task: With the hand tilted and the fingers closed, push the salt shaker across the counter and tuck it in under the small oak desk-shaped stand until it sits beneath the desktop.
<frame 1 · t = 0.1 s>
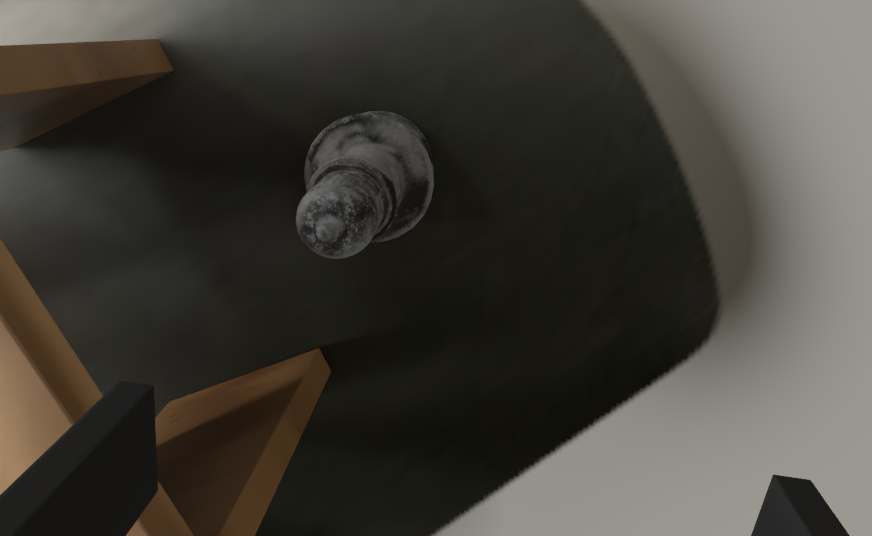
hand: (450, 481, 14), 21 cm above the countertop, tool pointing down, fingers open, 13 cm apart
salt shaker: (381, 163, 33), on the countertop
desk: (171, 251, 36), on the countertop
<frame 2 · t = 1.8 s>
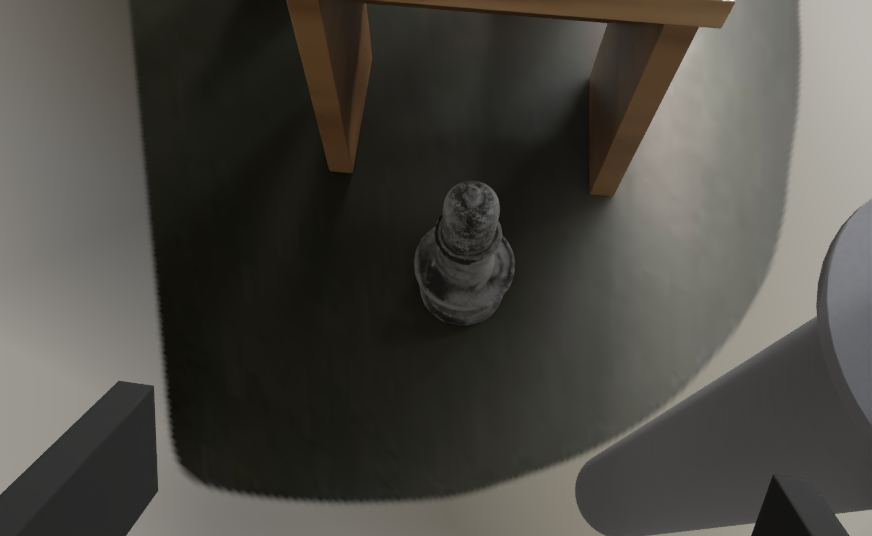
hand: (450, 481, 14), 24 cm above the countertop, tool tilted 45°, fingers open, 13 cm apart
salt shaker: (461, 287, 42), on the countertop
desk: (475, 123, 47), on the countertop
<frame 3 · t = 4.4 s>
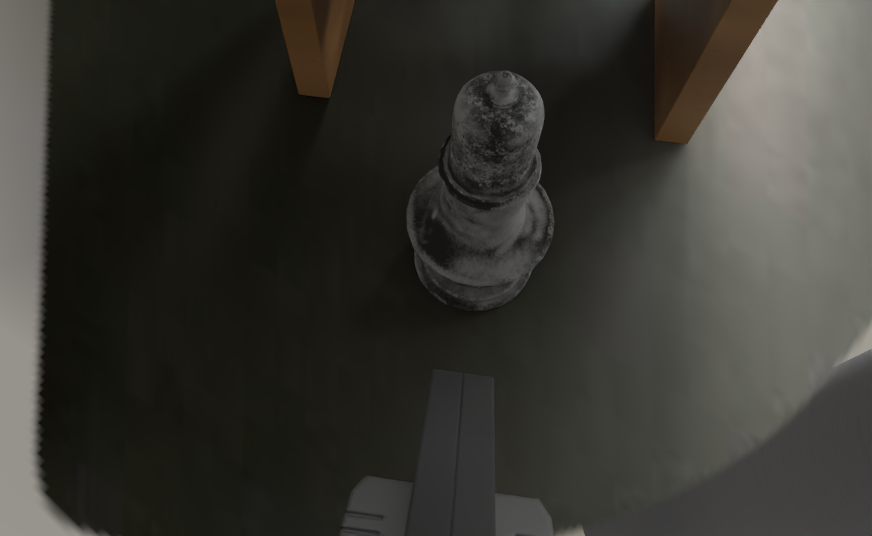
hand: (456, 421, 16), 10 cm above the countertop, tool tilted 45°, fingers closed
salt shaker: (473, 257, 30), on the countertop
desk: (500, 42, 35), on the countertop
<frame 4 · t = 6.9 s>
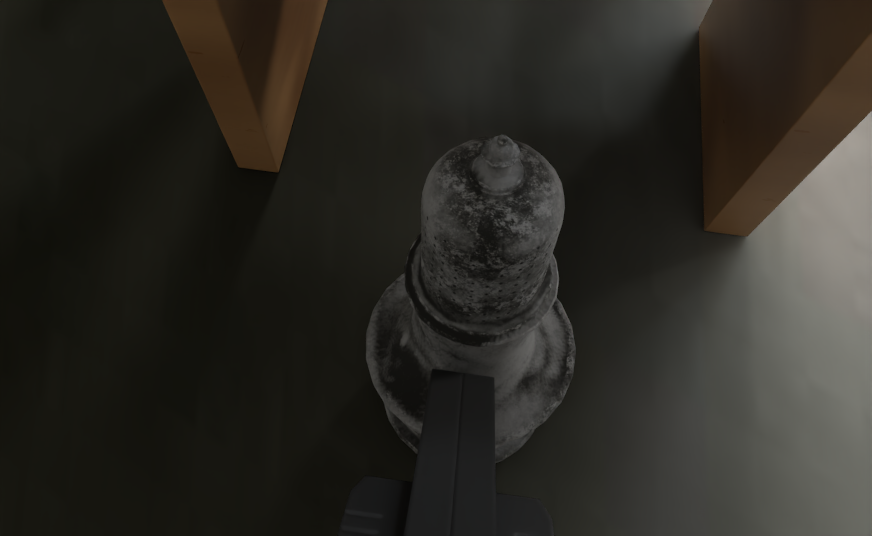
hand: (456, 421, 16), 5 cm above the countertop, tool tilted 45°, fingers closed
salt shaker: (463, 388, 22), on the countertop, touching gripper
desk: (502, 95, 27), on the countertop
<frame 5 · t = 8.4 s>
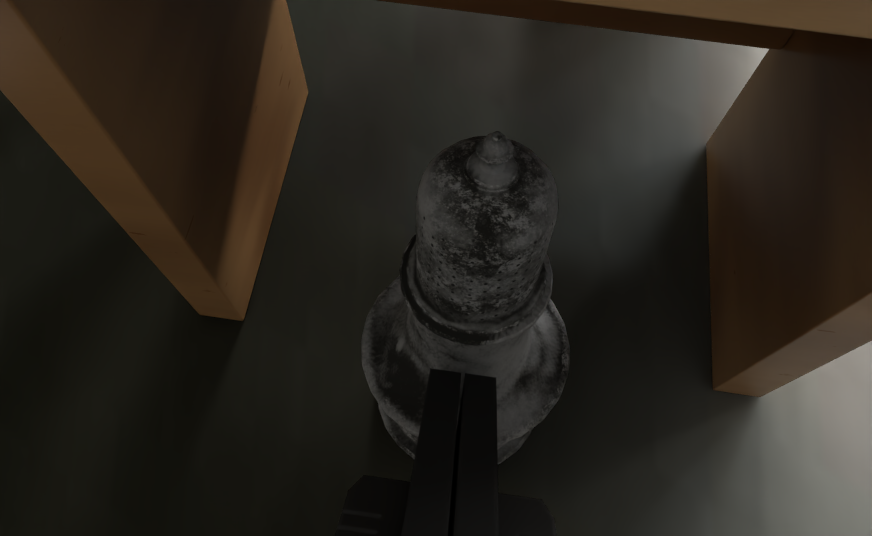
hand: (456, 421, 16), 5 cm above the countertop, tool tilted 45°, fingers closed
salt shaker: (458, 393, 22), on the countertop, touching gripper
desk: (490, 226, 25), on the countertop
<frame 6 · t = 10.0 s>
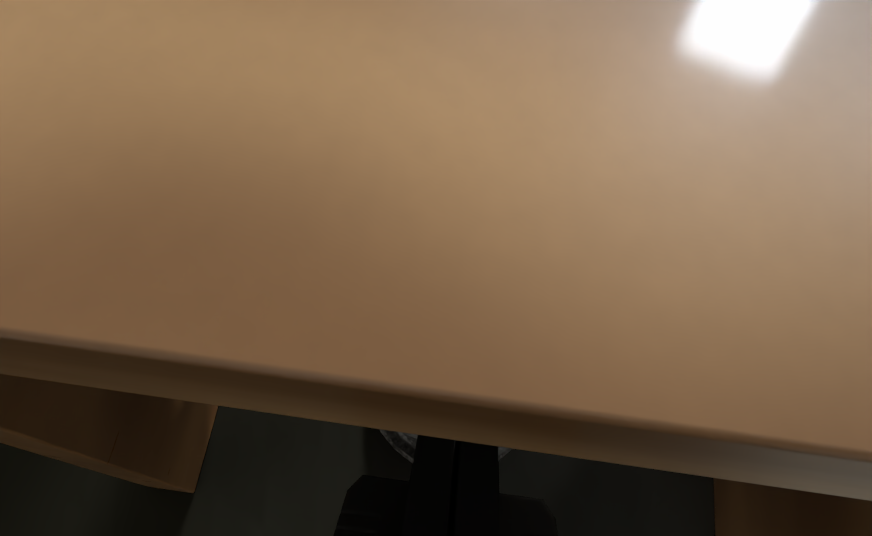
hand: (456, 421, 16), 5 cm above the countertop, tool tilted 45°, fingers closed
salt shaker: (451, 394, 22), on the countertop, touching gripper
desk: (470, 373, 22), on the countertop
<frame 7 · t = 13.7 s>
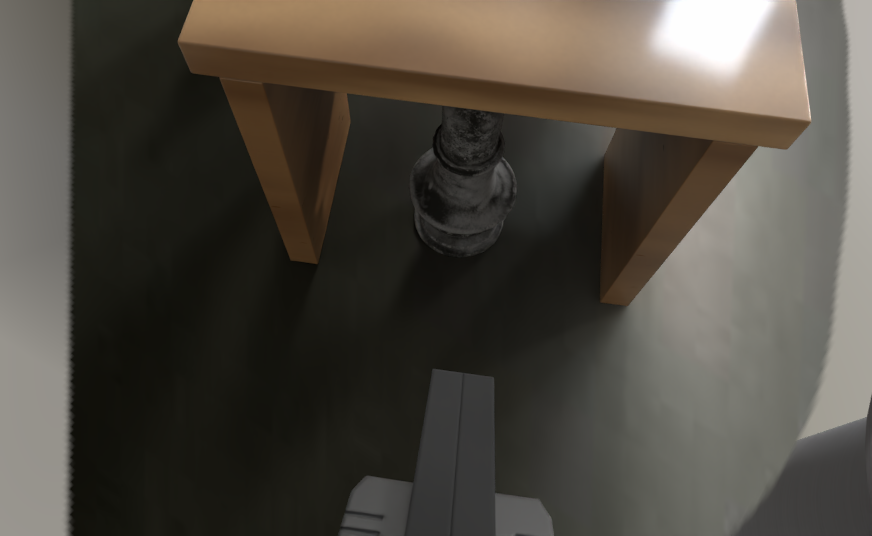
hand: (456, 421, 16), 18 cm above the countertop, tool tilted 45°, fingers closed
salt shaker: (458, 218, 39), on the countertop
desk: (468, 207, 39), on the countertop
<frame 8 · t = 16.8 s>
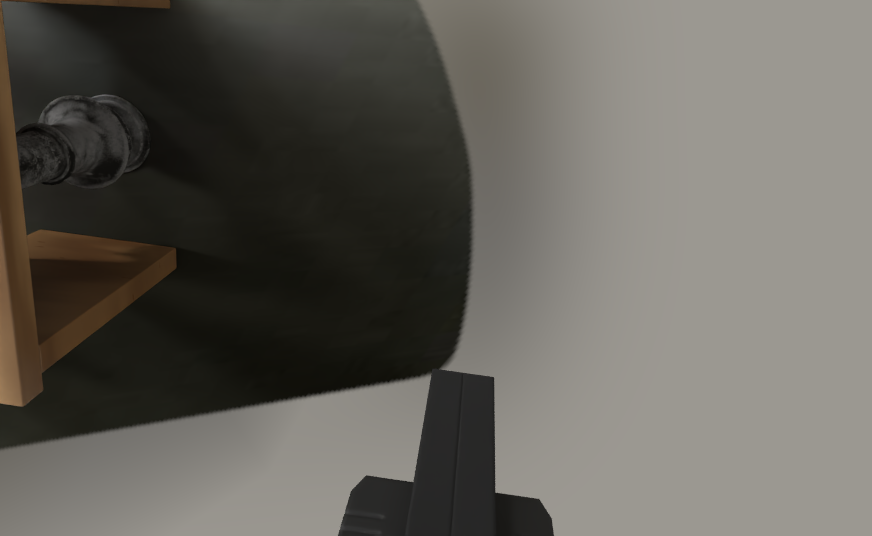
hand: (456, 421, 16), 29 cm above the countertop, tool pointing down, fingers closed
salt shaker: (114, 134, 45), on the countertop
desk: (101, 126, 45), on the countertop
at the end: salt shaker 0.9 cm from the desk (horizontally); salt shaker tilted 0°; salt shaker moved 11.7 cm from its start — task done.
